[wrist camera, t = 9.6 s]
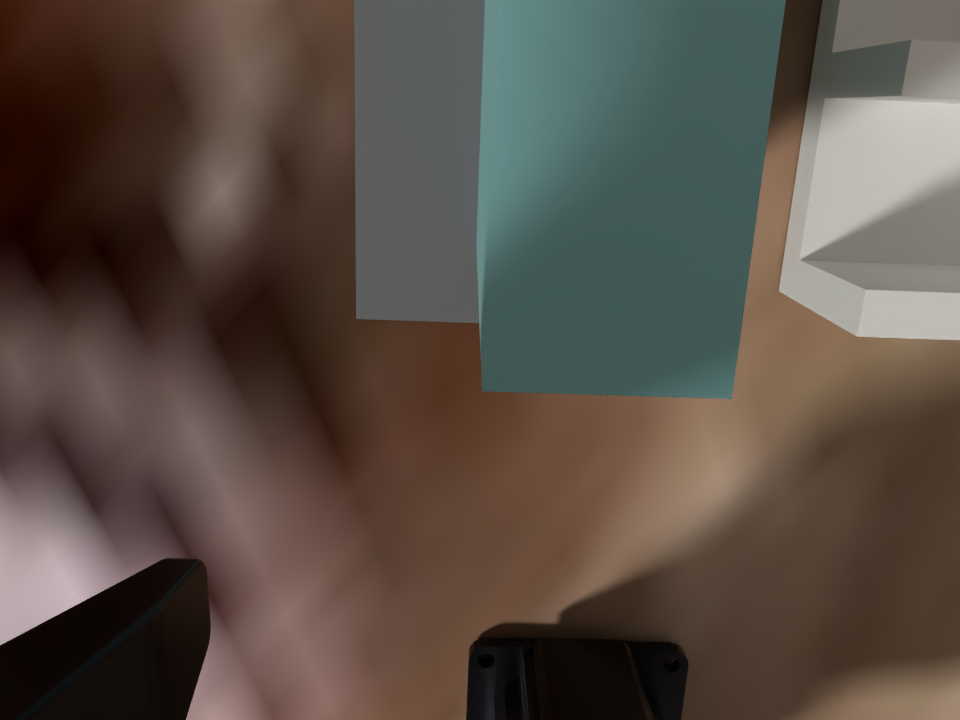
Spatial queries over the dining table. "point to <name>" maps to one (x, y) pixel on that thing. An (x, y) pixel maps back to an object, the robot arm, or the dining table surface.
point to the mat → (417, 158)
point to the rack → (880, 172)
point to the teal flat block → (620, 191)
